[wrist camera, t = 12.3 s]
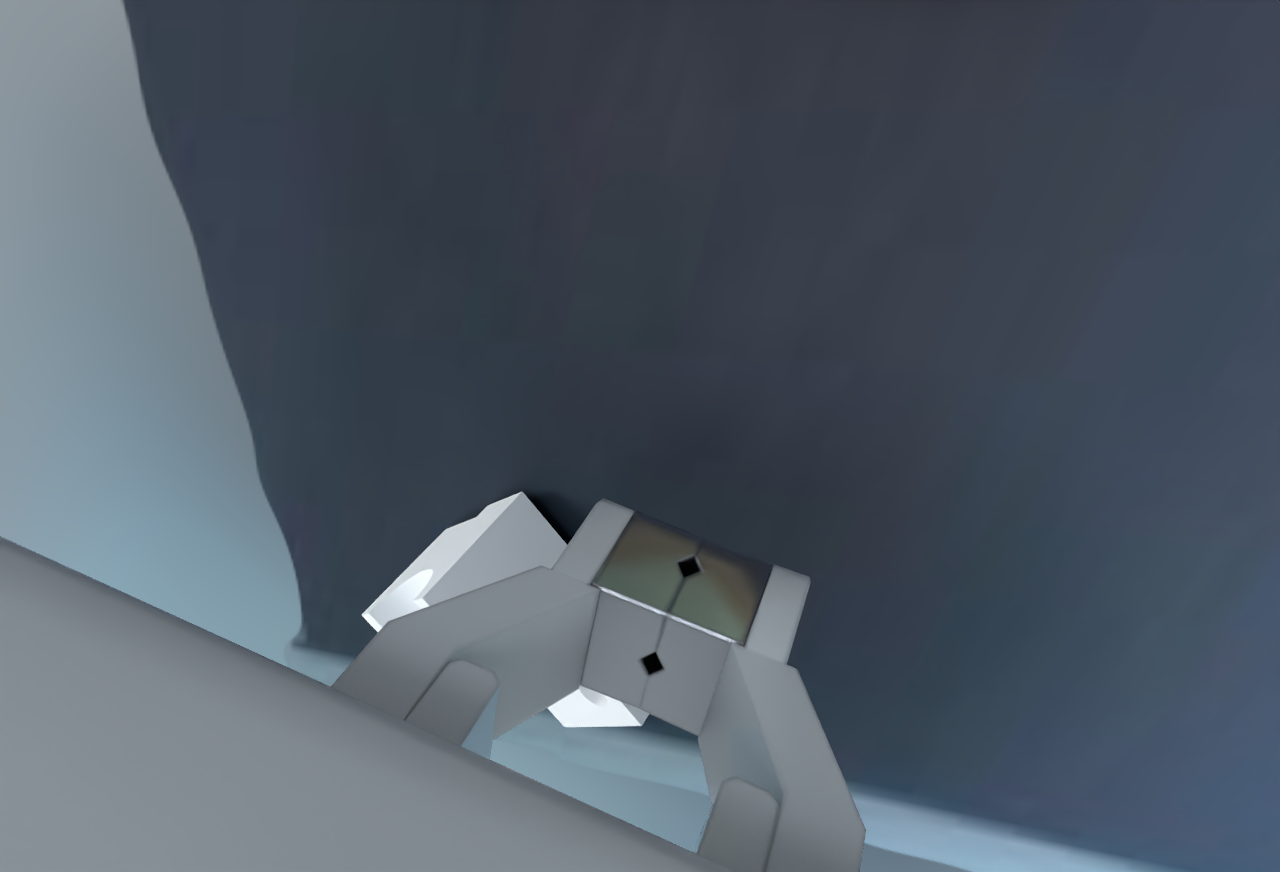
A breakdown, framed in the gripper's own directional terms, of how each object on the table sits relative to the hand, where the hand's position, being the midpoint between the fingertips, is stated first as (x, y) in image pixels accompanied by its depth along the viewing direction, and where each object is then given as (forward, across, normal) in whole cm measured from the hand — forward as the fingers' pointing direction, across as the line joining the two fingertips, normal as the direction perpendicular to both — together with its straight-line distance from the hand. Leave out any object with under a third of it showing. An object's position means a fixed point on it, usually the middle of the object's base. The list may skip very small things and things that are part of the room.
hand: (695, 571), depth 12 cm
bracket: (+24, +10, +28) cm, 38 cm away
